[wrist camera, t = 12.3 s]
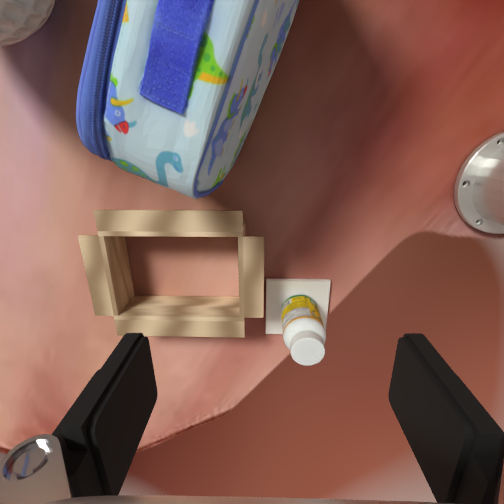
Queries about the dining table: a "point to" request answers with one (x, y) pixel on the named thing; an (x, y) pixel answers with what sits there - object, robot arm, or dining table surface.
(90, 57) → the lunch box
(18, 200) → the dining table surface
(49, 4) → the vase
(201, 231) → the carton
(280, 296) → the coaster
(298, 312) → the supplement bottle
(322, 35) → the dining table surface
